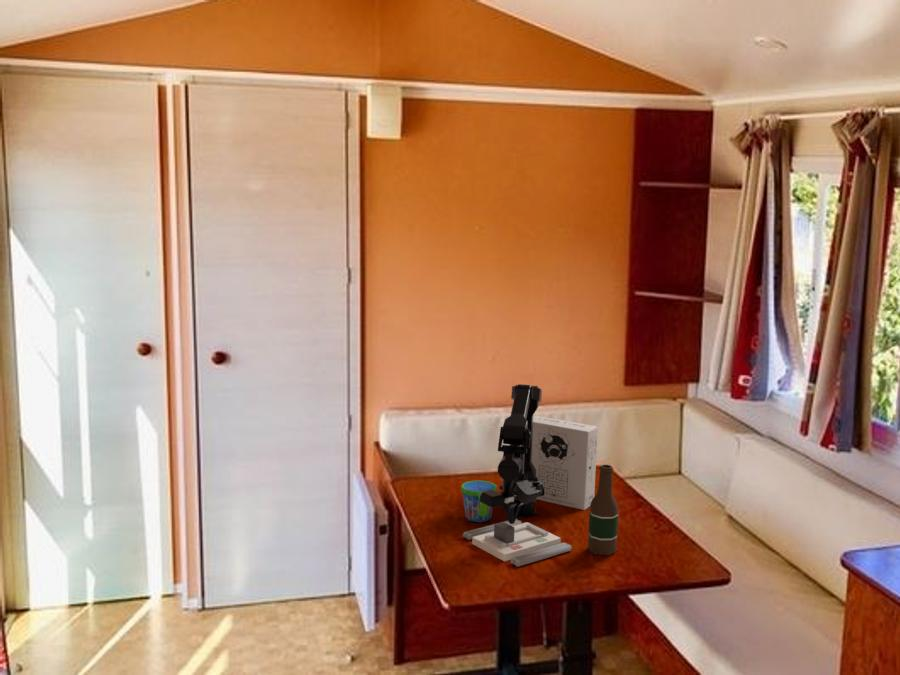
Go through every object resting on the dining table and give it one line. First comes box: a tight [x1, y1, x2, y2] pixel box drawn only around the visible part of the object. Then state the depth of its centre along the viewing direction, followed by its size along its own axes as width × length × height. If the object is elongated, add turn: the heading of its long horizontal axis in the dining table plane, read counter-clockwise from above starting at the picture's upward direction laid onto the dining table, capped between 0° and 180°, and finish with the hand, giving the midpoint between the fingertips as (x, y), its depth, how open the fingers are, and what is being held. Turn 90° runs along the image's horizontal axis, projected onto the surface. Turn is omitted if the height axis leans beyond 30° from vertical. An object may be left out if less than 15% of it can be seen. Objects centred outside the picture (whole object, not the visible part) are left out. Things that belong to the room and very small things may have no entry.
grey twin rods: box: [462, 518, 573, 568], centre depth 248 cm, size 20×24×2 cm
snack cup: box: [460, 480, 498, 523], centre depth 266 cm, size 16×10×10 cm
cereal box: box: [531, 415, 599, 511], centre depth 282 cm, size 22×8×25 cm, turn 58°
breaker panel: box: [471, 522, 562, 563], centre depth 248 cm, size 20×14×3 cm
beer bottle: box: [587, 464, 619, 556], centre depth 243 cm, size 8×8×24 cm
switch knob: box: [493, 521, 514, 544], centre depth 245 cm, size 3×5×4 cm, turn 36°
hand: (511, 523), depth 246 cm, fingers closed
